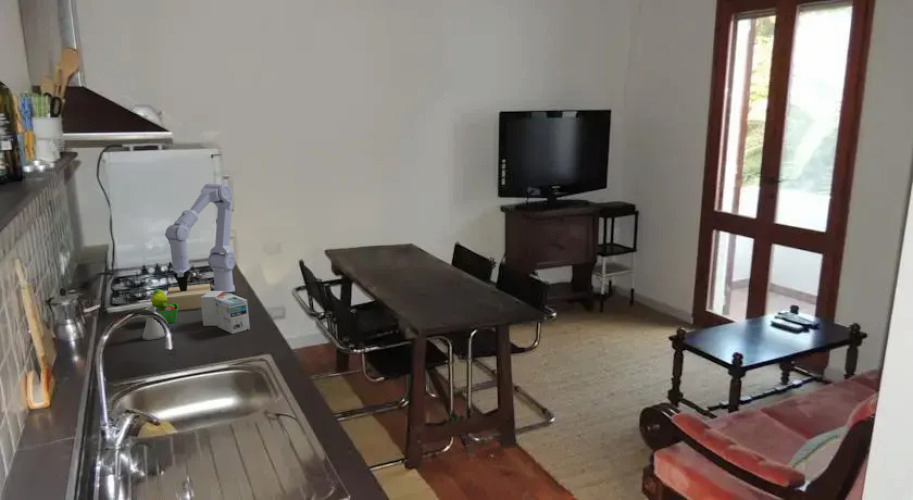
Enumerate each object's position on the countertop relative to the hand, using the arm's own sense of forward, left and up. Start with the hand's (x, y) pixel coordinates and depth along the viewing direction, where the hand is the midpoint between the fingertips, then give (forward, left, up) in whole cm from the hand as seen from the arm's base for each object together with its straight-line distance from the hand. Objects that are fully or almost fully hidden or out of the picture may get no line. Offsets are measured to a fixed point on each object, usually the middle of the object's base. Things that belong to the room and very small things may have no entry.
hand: (183, 290), depth 246 cm
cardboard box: (0, +2, -6) cm, 6 cm away
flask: (+34, -8, -6) cm, 35 cm away
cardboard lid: (0, +2, -1) cm, 2 cm away
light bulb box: (+35, +17, -6) cm, 39 cm away
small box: (+26, +11, -6) cm, 29 cm away
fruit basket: (+18, -7, -6) cm, 20 cm away
